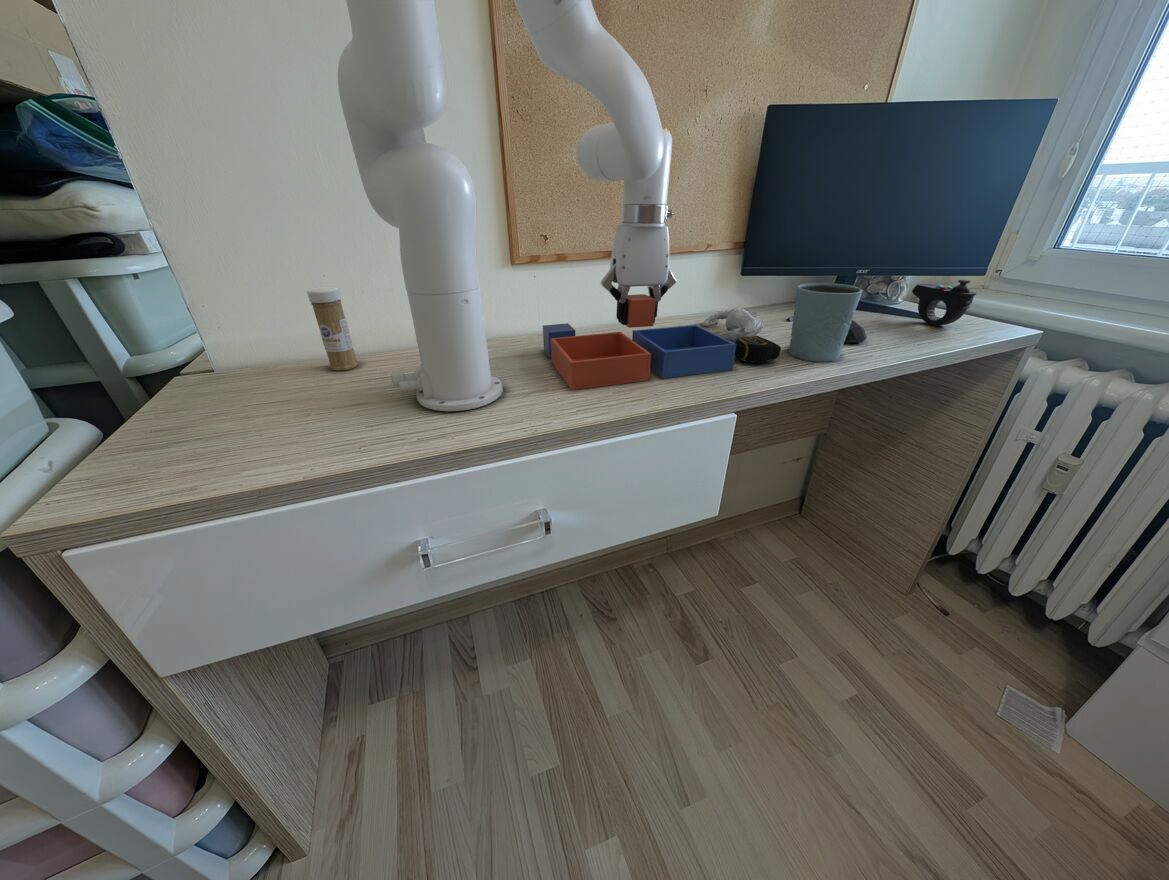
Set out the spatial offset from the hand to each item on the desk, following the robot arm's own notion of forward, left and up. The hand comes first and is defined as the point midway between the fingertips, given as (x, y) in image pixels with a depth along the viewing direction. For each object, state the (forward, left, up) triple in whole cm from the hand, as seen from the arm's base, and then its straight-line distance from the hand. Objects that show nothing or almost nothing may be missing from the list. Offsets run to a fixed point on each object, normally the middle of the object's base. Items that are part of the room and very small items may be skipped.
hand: (636, 321), depth 84 cm
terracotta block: (0, 0, 0) cm, 0 cm away
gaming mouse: (+43, -6, -5) cm, 43 cm away
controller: (+71, -6, -5) cm, 71 cm away
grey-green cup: (+30, -15, -5) cm, 33 cm away
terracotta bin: (-11, -11, -5) cm, 16 cm away
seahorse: (+23, +1, -5) cm, 23 cm away
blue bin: (+4, -11, -5) cm, 13 cm away
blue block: (-15, 0, -5) cm, 16 cm away
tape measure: (+18, -14, -5) cm, 23 cm away
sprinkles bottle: (-53, +5, -5) cm, 54 cm away
